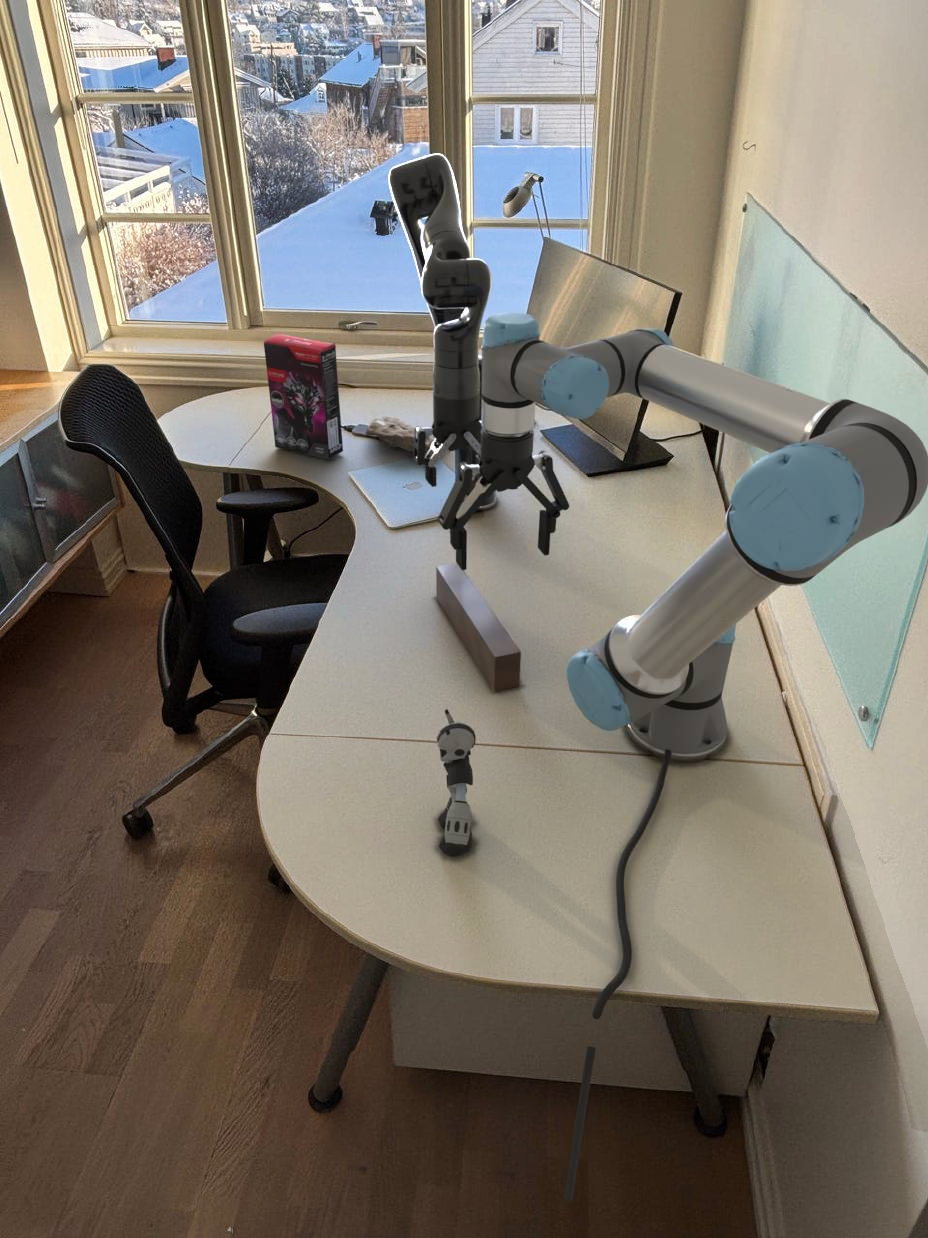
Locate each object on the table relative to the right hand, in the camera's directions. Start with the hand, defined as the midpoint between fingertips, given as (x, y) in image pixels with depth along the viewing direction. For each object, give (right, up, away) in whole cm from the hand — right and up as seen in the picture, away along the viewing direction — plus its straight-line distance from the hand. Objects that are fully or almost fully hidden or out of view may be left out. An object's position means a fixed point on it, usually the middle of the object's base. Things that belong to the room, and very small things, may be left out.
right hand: (502, 558), depth 142 cm
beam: (-4, -13, +21) cm, 25 cm away
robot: (-7, -38, -17) cm, 43 cm away
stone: (-21, +34, +91) cm, 100 cm away
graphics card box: (-45, +33, +89) cm, 105 cm away
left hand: (-7, +14, +15) cm, 22 cm away
